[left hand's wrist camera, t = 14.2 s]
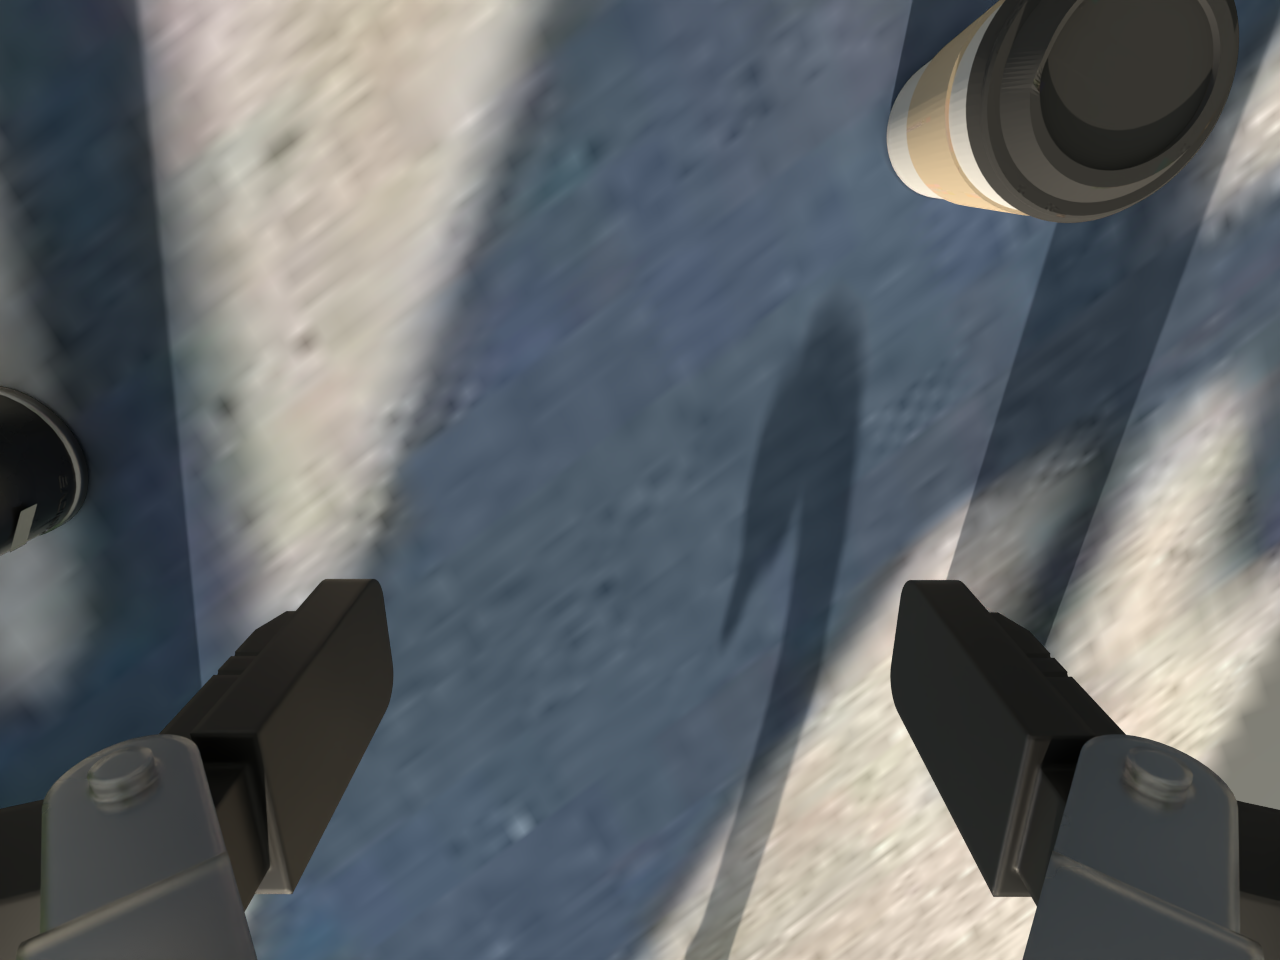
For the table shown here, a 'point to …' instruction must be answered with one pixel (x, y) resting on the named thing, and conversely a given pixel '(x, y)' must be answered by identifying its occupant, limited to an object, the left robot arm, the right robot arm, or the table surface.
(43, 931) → the left robot arm
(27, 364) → the table surface
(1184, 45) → the coffee cup
